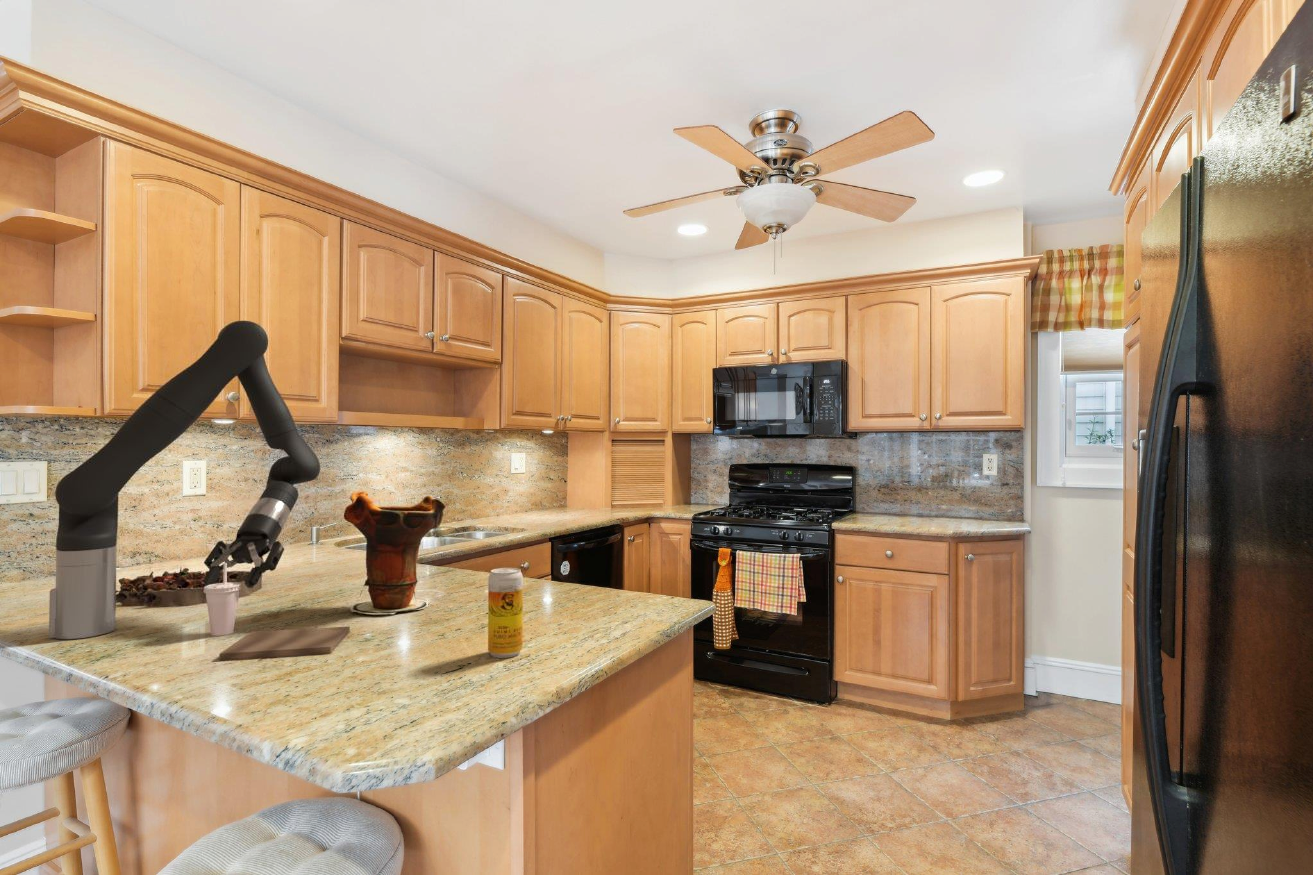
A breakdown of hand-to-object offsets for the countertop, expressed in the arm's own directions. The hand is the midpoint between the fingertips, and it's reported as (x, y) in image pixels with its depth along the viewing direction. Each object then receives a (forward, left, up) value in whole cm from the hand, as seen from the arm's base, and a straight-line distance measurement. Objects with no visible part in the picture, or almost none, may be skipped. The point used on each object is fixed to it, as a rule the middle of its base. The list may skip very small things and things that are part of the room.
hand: (227, 585), depth 133 cm
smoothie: (0, -1, -9) cm, 10 cm away
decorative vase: (+30, +15, -10) cm, 34 cm away
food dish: (-25, +43, -10) cm, 51 cm away
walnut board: (+16, -13, -9) cm, 23 cm away
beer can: (+56, -27, -10) cm, 63 cm away
